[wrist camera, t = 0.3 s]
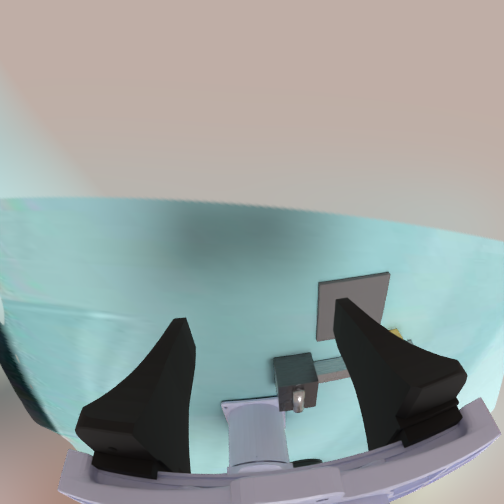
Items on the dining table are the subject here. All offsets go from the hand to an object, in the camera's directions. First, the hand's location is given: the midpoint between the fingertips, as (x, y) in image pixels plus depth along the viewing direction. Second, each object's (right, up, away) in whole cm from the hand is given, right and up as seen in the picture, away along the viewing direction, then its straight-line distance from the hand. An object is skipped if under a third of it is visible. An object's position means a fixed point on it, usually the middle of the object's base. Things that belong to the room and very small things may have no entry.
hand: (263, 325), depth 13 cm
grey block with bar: (+11, -9, +16) cm, 22 cm away
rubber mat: (+9, -2, +13) cm, 16 cm away
